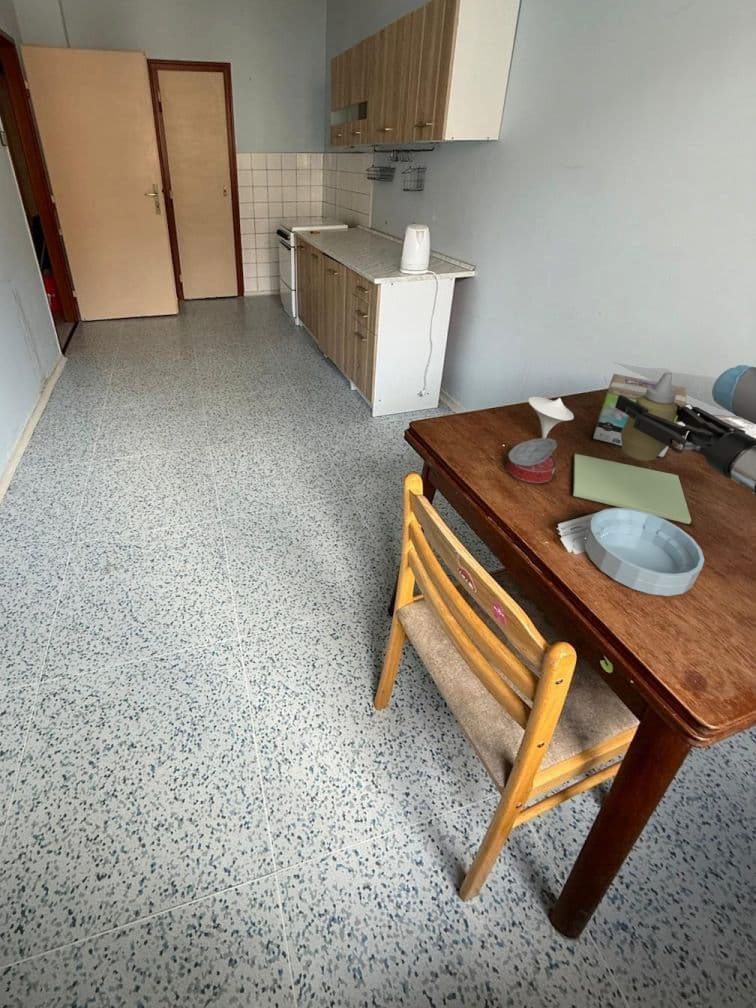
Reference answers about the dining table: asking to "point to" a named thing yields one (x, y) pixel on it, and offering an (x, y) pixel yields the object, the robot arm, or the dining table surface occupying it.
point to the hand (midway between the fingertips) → (633, 399)
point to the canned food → (532, 460)
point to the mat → (630, 487)
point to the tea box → (615, 419)
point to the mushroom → (550, 412)
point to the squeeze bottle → (658, 404)
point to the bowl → (643, 551)
